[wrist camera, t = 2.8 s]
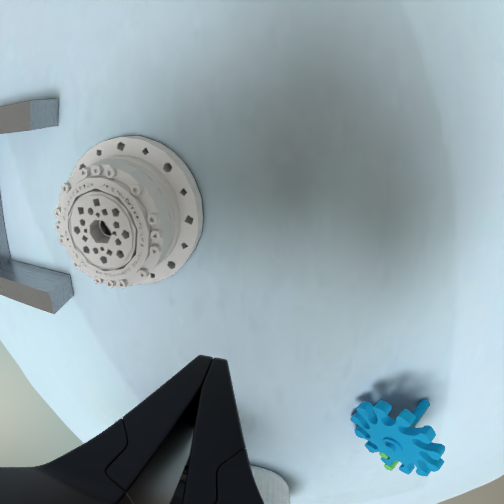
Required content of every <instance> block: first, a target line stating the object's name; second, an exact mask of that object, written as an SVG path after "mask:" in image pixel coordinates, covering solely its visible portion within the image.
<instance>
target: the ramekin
mask: <svg viewBox="0 0 504 504" xmlns="http://www.w3.org/2000/svg"><path fill="white" fill-rule="evenodd" d="M250 466H251V470H252V474H253V477H254V479H255V482H256V485H257V487H258V490H259V492H260V495H261V497H262V499H263V501H264V504H290V494H289V488H288V485H287V483H286V482H285V481H284V480H283V478H282V477H281V476H279V475H278V474H276V473H275V472H272V471H270V470H268V469H264V468H261V467H257V466H252V465H250Z"/></svg>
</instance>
